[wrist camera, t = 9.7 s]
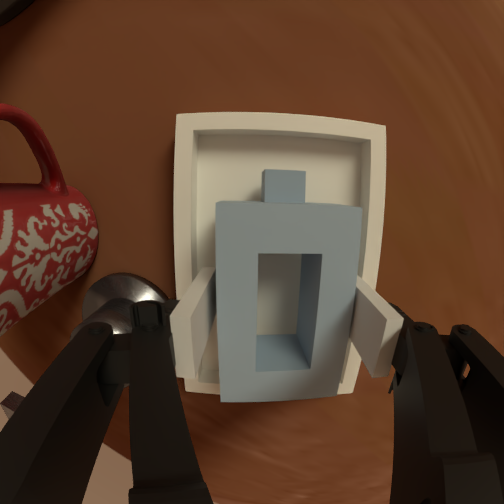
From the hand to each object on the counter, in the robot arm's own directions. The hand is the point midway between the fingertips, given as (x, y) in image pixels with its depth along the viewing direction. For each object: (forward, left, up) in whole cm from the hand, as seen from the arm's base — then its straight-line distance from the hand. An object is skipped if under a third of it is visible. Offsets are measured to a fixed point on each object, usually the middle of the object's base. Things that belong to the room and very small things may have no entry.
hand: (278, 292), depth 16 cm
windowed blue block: (0, 0, -1) cm, 1 cm away
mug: (-4, -15, -3) cm, 16 cm away
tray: (-1, 0, -2) cm, 3 cm away
